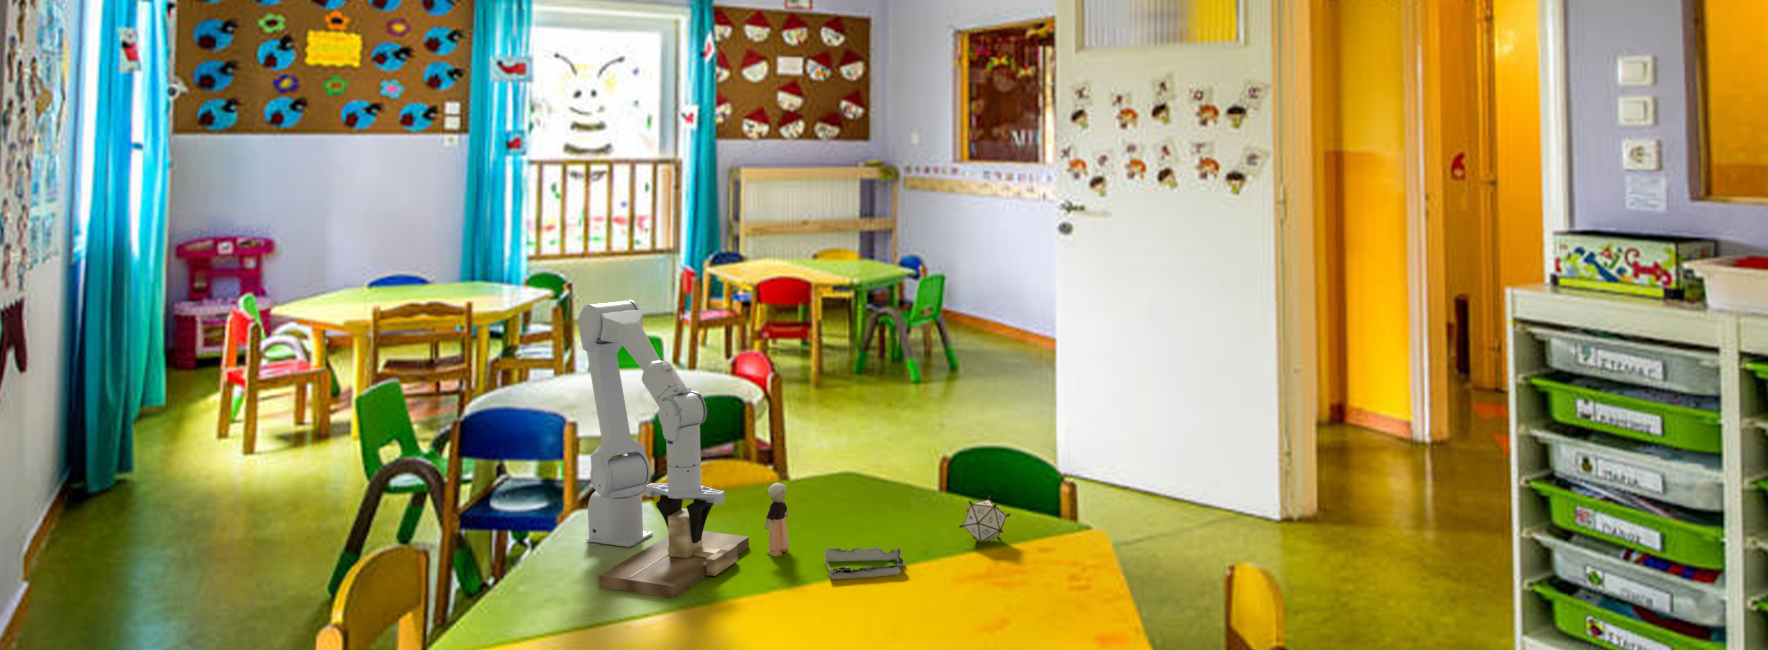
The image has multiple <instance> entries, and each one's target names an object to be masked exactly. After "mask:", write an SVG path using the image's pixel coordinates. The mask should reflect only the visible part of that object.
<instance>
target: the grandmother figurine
mask: <svg viewBox="0 0 1768 650" xmlns="http://www.w3.org/2000/svg"><path fill="white" fill-rule="evenodd" d="M786 491H787V486H786V484H783V483H782V482H781V483H780V482H774V483H773V484H772V485H770V486H769V487H768V490H767V493H768V496H769V497H770V499H771V500H772V503H771V504H770V506H769V510H768V513H767V515H766V518H765V519H766V521H765V524H764V529H765V530H770V531H769V536H768V537H769V538H768V549H769V550H768V551H767V553H766V554H767V555H768V556H771V557H775V558H776V557H780V556H782V555H783V553H786V552H788V550H789V548H790V540H789V533H788V528H787V523H786V522H787V521H786V518H788V517H789V512H788V507H787V505H786V503H785V501H784V500H785V499H786Z"/></svg>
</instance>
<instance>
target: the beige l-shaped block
mask: <svg viewBox="0 0 1768 650" xmlns="http://www.w3.org/2000/svg"><path fill="white" fill-rule="evenodd" d="M667 530H668V532H667V533H668V536H669V546H668V552H669V556H674V557H681V558H689V557H691V556H699V557H706V558H707V559H706V571H707V576H711V577H715V576H717V575H719V574H721V573H722V572H723V571H725V570H726V569H728V568H729V567H730V566H732V565H733V564H735V563H736V562H738V560H739V559H738V557H739V554H738V551H737V545H733V544H728V545H727V546H725V547H724V548H722V549H714V548H706V547H702V539H701V540H700V541H699V542H697V543H692V539H691V523H690V518H689V514H688V510H687V508H681V510H679V511H677V512H675V513H674V514H672V515H670V516H668V528H667Z"/></svg>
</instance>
